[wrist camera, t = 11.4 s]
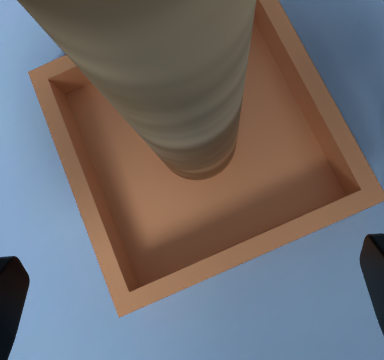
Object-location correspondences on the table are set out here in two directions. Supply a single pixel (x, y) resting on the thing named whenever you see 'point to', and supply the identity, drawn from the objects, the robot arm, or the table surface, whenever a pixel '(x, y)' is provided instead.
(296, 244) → the table surface
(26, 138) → the table surface
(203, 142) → the dowel
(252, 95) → the tray
